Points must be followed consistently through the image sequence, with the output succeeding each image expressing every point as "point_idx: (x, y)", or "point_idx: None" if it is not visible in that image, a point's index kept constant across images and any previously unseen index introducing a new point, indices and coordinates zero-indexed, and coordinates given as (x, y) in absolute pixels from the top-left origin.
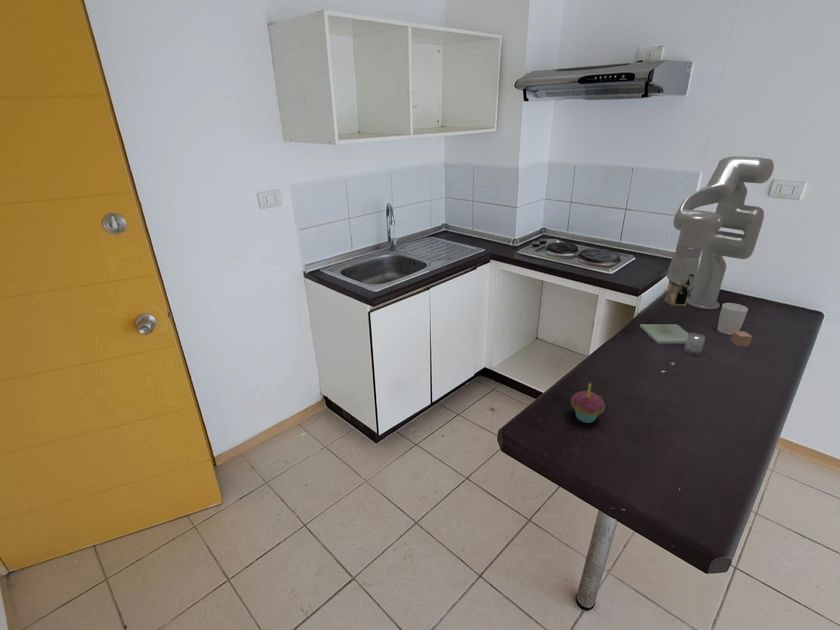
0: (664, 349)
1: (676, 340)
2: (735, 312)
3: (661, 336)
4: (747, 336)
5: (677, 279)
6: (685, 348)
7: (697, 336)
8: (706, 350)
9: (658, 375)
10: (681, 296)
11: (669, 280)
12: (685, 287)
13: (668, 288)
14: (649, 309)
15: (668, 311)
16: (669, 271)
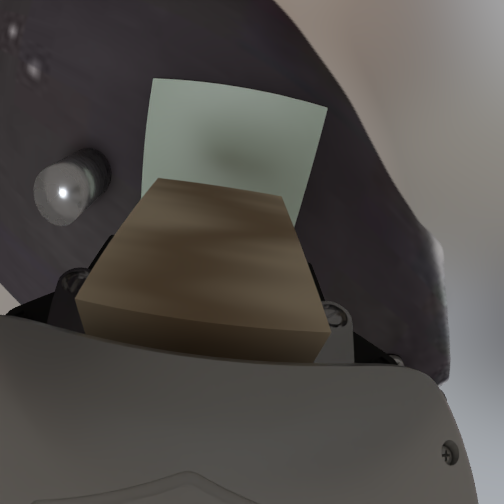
0: (109, 81)
1: (147, 156)
2: None
3: (190, 116)
4: None
5: (12, 408)
6: (85, 151)
7: (52, 197)
8: (98, 224)
9: (4, 17)
10: (91, 267)
11: (386, 360)
12: None
13: (286, 262)
14: (421, 252)
15: (385, 295)
16: (433, 485)
